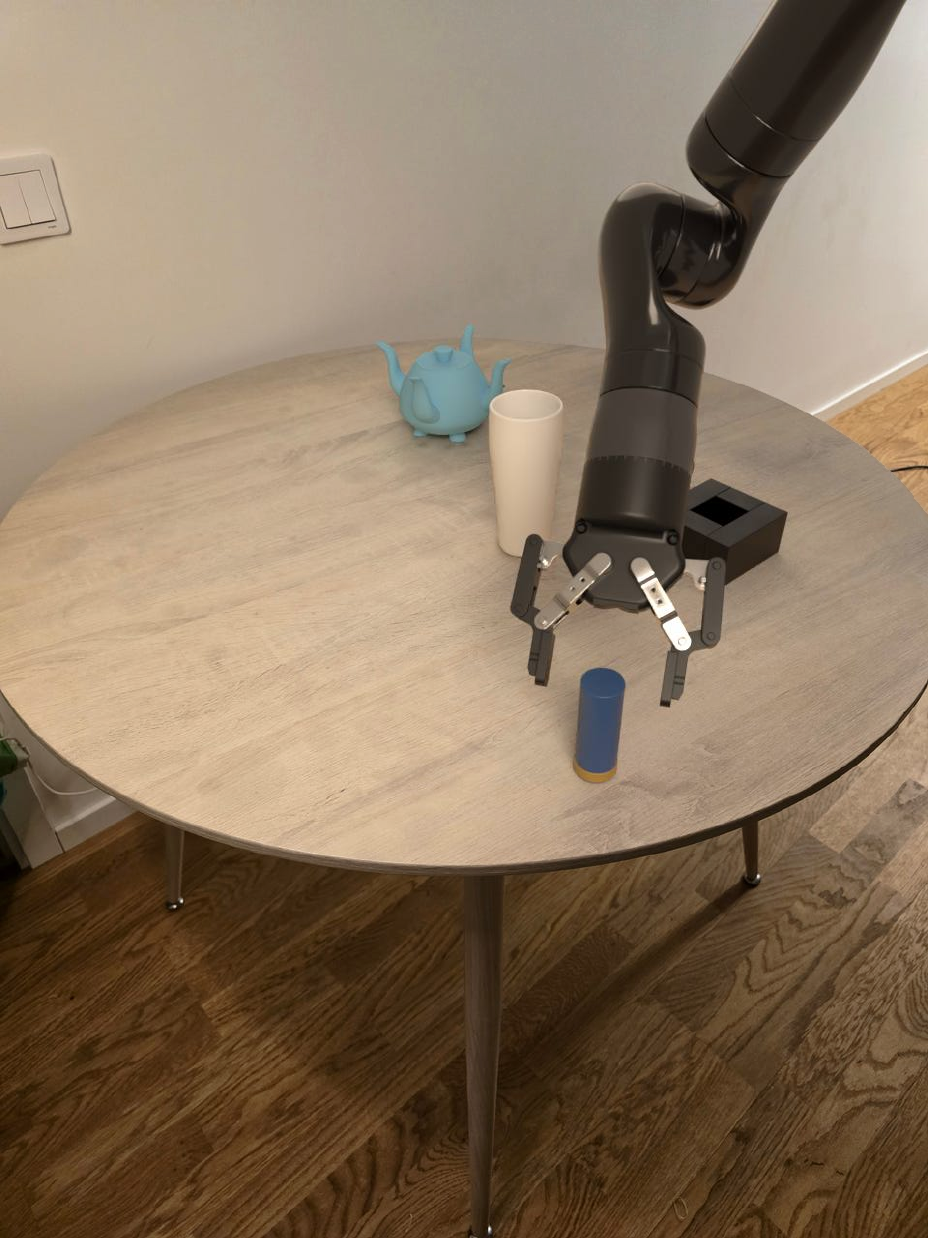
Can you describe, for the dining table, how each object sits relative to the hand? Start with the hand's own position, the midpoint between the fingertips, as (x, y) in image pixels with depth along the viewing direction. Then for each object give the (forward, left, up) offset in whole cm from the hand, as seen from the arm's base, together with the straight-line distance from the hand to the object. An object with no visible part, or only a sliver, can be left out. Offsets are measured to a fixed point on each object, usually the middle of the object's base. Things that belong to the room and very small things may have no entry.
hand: (602, 696), depth 59 cm
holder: (+12, -29, -7) cm, 32 cm away
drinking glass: (+25, -16, -7) cm, 30 cm away
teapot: (+51, -27, -7) cm, 58 cm away
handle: (0, 0, -7) cm, 7 cm away
